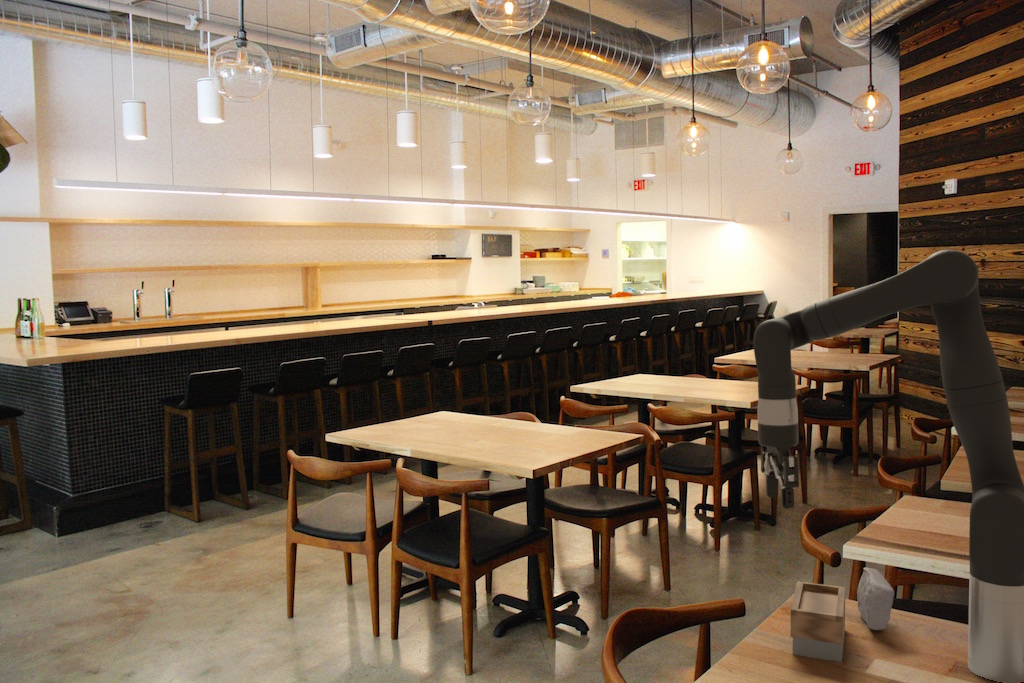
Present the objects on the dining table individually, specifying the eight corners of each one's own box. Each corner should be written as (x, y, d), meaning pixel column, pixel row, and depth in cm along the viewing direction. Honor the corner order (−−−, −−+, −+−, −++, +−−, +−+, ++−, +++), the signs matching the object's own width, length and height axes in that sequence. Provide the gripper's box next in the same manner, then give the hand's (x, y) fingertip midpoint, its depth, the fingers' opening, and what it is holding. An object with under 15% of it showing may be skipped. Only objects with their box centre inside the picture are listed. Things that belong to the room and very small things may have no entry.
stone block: (895, 637, 157) (895, 587, 156) (868, 635, 158) (869, 585, 157) (880, 612, 169) (880, 565, 168) (855, 610, 170) (856, 564, 169)
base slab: (844, 632, 161) (845, 613, 160) (841, 665, 147) (842, 644, 147) (799, 625, 164) (799, 606, 164) (792, 657, 151) (792, 637, 150)
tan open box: (845, 612, 160) (845, 587, 160) (842, 644, 147) (842, 616, 146) (797, 606, 164) (797, 581, 164) (790, 636, 150) (790, 609, 150)
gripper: (811, 425, 151) (813, 510, 152) (783, 414, 165) (785, 492, 166) (771, 427, 151) (773, 512, 152) (747, 415, 165) (749, 494, 166)
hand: (779, 502), depth 159 cm, fingers open, 8 cm apart
